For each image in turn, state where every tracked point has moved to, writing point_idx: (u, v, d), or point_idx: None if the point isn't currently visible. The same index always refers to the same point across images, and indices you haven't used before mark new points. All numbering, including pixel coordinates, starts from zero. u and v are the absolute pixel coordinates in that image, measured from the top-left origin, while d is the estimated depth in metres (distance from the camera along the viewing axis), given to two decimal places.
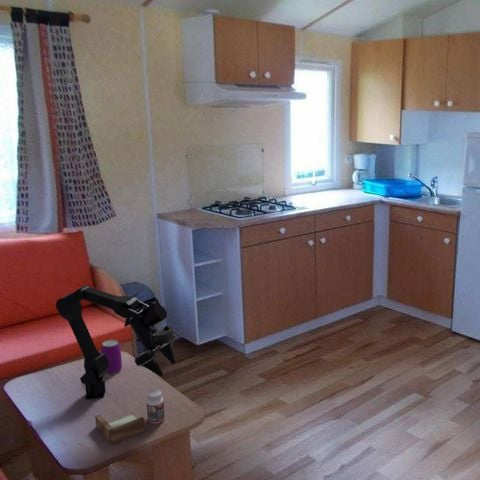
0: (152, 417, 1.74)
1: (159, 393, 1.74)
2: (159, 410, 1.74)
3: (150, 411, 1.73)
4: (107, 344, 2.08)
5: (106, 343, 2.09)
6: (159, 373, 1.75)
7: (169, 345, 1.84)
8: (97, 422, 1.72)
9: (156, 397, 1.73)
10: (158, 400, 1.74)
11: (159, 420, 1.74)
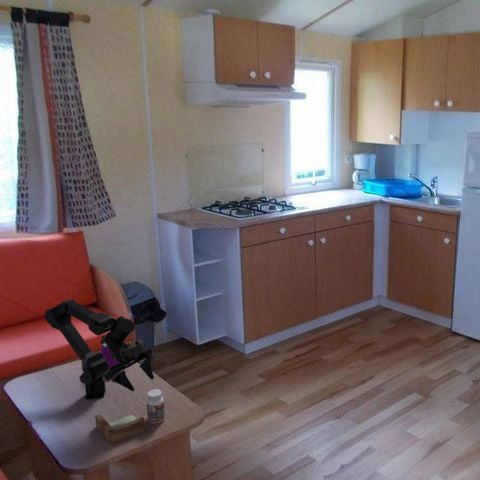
0: (152, 417, 1.74)
1: (159, 393, 1.74)
2: (159, 410, 1.74)
3: (150, 411, 1.73)
4: None
5: None
6: (130, 388, 1.73)
7: (146, 360, 1.81)
8: (97, 422, 1.72)
9: (156, 397, 1.73)
10: (158, 400, 1.74)
11: (159, 420, 1.74)
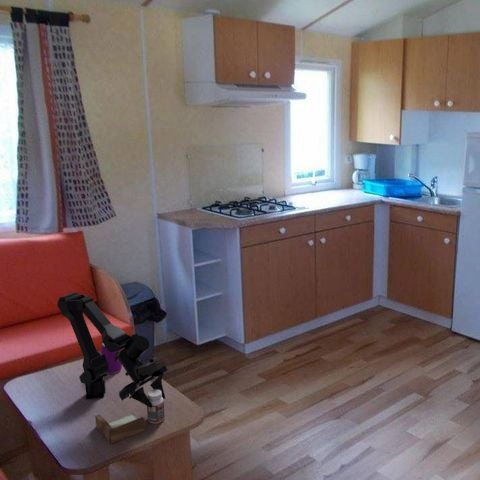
0: (152, 417, 1.74)
1: (159, 393, 1.74)
2: (159, 410, 1.74)
3: (150, 411, 1.73)
4: None
5: None
6: (148, 404, 1.72)
7: (157, 380, 1.78)
8: (97, 422, 1.72)
9: (156, 397, 1.73)
10: (158, 400, 1.74)
11: (159, 420, 1.74)
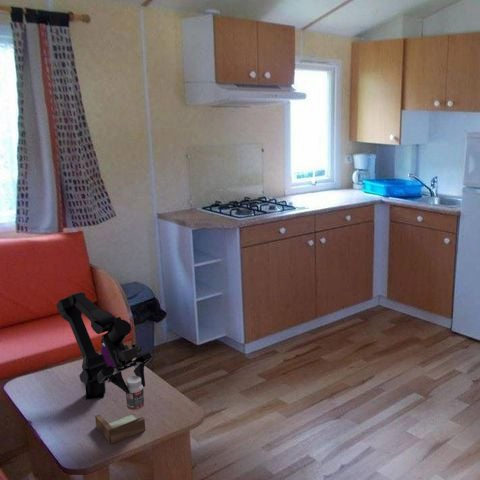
0: (129, 404, 1.70)
1: (138, 380, 1.70)
2: (137, 398, 1.70)
3: (128, 397, 1.70)
4: None
5: None
6: (125, 390, 1.69)
7: (139, 366, 1.74)
8: (97, 422, 1.72)
9: (134, 384, 1.69)
10: (136, 387, 1.69)
11: (137, 408, 1.70)
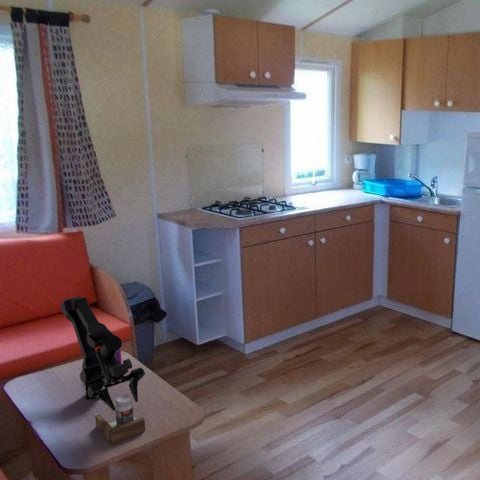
0: (118, 423, 1.71)
1: (127, 399, 1.70)
2: (125, 417, 1.70)
3: (117, 416, 1.70)
4: None
5: None
6: (111, 407, 1.68)
7: (132, 381, 1.74)
8: (97, 422, 1.72)
9: (122, 403, 1.69)
10: (125, 406, 1.70)
11: None
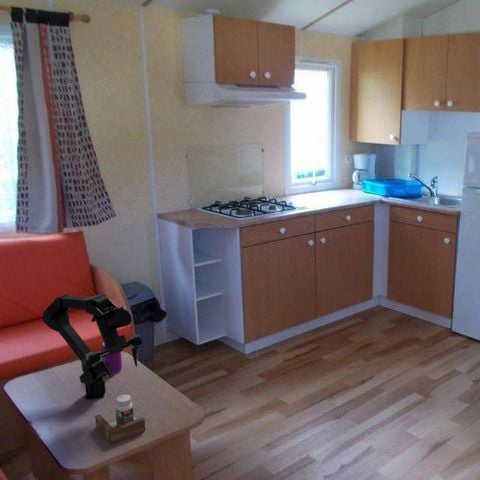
0: (118, 422, 1.71)
1: (127, 399, 1.70)
2: (125, 416, 1.70)
3: (117, 415, 1.70)
4: None
5: None
6: (108, 374, 1.82)
7: (132, 350, 1.83)
8: (97, 422, 1.72)
9: (122, 403, 1.69)
10: (125, 406, 1.70)
11: None
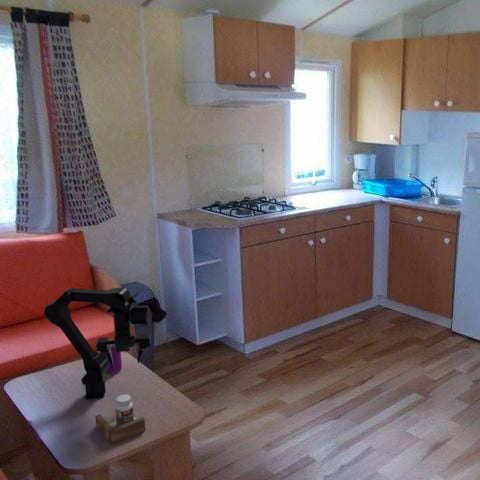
0: (118, 422, 1.71)
1: (127, 399, 1.70)
2: (125, 416, 1.70)
3: (117, 415, 1.70)
4: None
5: None
6: None
7: (138, 348, 1.86)
8: (97, 422, 1.72)
9: (122, 403, 1.69)
10: (125, 406, 1.70)
11: None
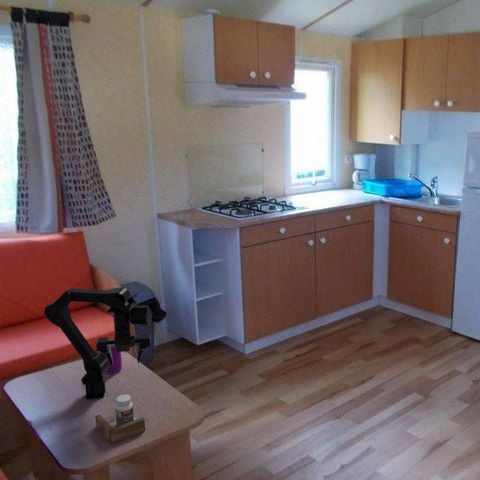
0: (118, 422, 1.71)
1: (127, 399, 1.70)
2: (125, 416, 1.70)
3: (117, 415, 1.70)
4: None
5: None
6: None
7: (138, 348, 1.86)
8: (97, 422, 1.72)
9: (122, 403, 1.69)
10: (125, 406, 1.70)
11: None
